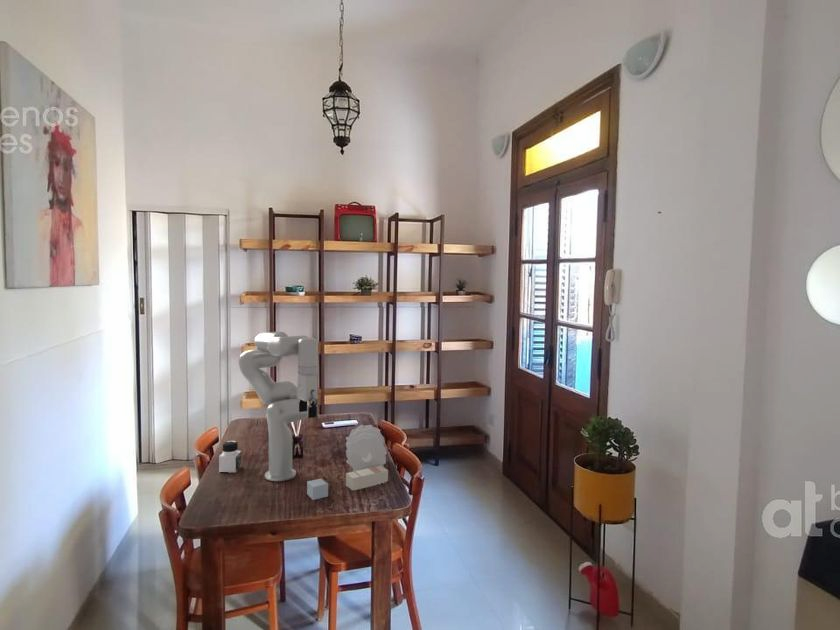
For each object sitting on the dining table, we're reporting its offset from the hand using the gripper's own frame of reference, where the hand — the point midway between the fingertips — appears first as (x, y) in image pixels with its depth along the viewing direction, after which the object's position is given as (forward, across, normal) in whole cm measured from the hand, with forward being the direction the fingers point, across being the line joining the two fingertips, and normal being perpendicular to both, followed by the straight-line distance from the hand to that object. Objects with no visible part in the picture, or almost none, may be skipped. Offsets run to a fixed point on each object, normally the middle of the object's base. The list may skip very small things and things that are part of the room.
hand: (307, 414), depth 190 cm
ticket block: (+30, +6, +23) cm, 39 cm away
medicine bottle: (+31, -38, -20) cm, 53 cm away
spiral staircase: (+31, -10, +31) cm, 44 cm away
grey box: (+30, +6, +2) cm, 31 cm away
